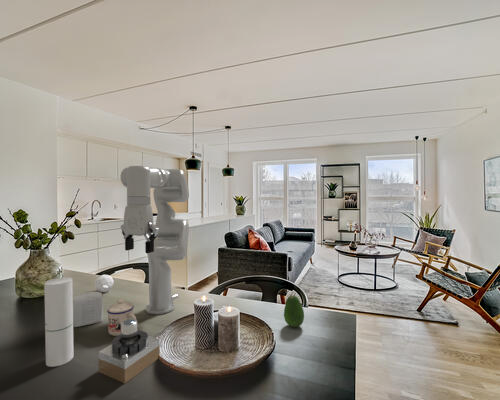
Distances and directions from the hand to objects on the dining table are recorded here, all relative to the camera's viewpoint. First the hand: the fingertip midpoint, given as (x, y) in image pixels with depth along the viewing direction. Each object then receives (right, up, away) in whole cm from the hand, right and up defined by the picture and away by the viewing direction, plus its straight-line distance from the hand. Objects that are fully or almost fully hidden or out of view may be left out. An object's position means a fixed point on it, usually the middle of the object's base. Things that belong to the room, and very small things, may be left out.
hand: (139, 251), depth 94 cm
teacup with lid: (-10, -32, +9) cm, 35 cm away
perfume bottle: (-39, -31, +49) cm, 70 cm away
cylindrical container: (-21, -33, -9) cm, 40 cm away
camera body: (+2, -33, -11) cm, 35 cm away
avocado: (+56, -32, +13) cm, 66 cm away
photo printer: (-27, -32, +15) cm, 44 cm away
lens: (+2, -27, -11) cm, 29 cm away
